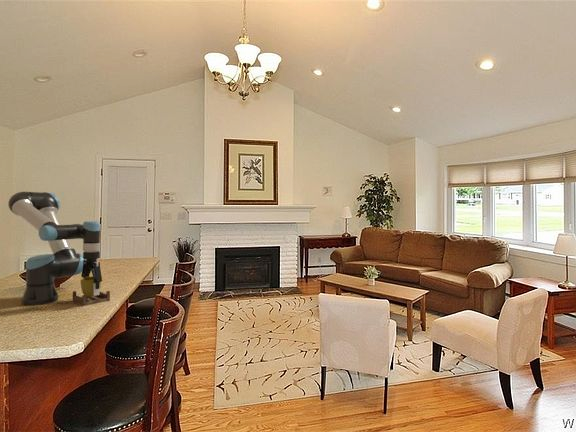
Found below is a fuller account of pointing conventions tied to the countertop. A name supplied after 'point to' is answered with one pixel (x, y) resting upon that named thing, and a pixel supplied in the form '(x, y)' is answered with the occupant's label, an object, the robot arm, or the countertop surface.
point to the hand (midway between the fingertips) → (91, 293)
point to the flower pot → (87, 286)
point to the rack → (84, 300)
